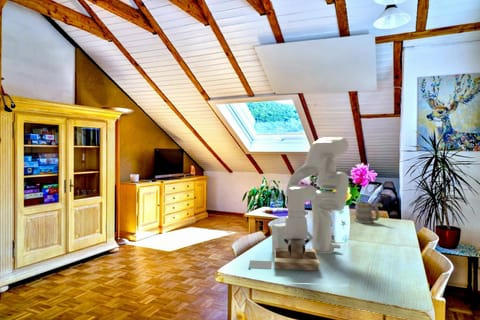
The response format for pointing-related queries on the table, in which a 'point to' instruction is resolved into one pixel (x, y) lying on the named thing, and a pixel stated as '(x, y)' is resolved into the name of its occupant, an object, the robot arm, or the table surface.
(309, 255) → the wooden tray
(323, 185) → the robot arm
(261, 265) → the coaster
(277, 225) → the skincare box
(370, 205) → the tankard
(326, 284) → the table surface
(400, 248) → the table surface
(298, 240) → the block
